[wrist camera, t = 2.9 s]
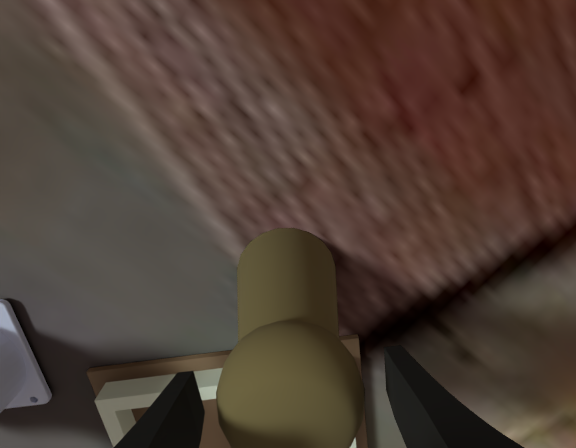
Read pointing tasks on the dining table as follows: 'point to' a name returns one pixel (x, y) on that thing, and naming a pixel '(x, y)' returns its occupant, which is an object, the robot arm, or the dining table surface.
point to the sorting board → (212, 438)
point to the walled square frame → (144, 399)
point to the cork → (289, 351)
